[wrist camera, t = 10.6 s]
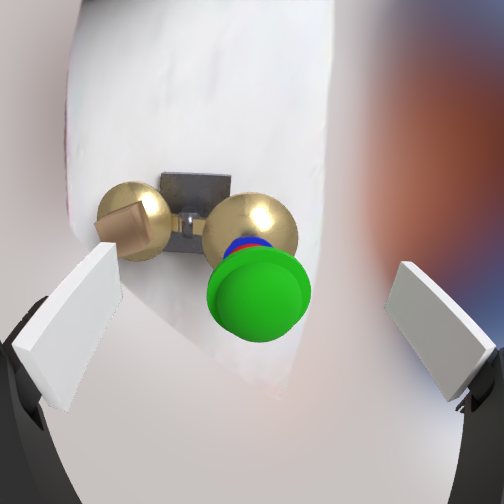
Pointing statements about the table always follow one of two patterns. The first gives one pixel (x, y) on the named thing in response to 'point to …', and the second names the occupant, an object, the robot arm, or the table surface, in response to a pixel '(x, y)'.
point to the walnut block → (126, 229)
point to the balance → (203, 215)
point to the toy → (258, 290)
